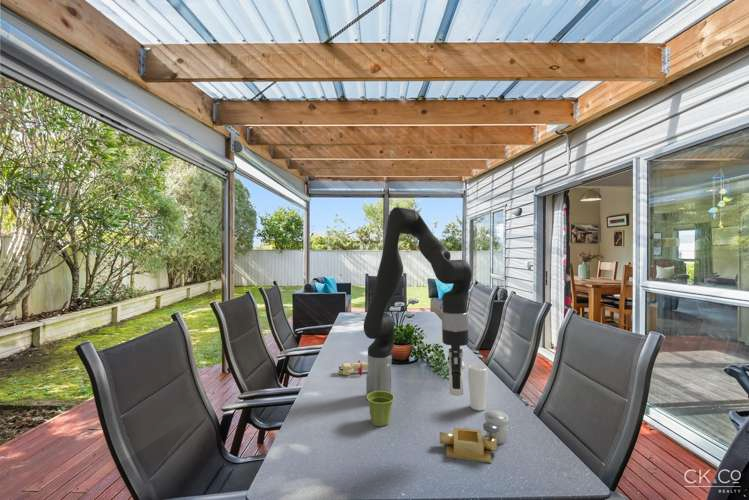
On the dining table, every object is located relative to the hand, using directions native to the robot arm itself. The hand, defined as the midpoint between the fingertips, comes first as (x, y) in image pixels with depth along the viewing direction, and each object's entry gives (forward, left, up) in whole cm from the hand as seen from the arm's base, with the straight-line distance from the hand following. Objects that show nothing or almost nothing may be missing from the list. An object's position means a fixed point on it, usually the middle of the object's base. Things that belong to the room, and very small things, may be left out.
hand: (456, 385), depth 100 cm
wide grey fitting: (+12, +8, -18) cm, 23 cm away
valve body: (+3, 0, -18) cm, 19 cm away
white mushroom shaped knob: (0, 0, -2) cm, 2 cm away
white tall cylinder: (+8, +28, -19) cm, 34 cm away
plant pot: (-25, +10, -19) cm, 32 cm away
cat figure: (-41, +53, -19) cm, 70 cm away
